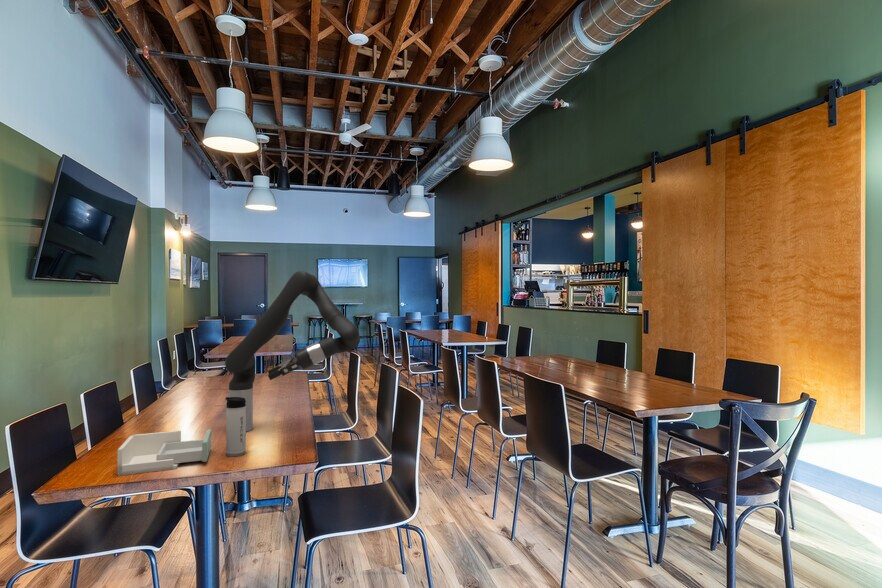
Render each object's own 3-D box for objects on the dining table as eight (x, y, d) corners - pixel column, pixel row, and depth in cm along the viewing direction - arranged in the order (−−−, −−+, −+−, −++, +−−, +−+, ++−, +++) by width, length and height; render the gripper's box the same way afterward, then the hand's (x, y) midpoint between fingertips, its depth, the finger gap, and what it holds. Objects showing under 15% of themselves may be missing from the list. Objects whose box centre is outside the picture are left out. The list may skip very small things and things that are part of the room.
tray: (211, 446, 169) (211, 428, 169) (206, 461, 153) (206, 442, 153) (164, 451, 163) (164, 433, 163) (155, 467, 148) (155, 447, 148)
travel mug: (225, 452, 166) (226, 396, 166) (246, 450, 168) (246, 394, 168) (224, 458, 160) (224, 399, 160) (245, 455, 162) (245, 398, 162)
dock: (183, 452, 166) (184, 430, 166) (176, 468, 150) (176, 443, 150) (130, 458, 160) (131, 435, 160) (117, 475, 144) (117, 449, 144)
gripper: (304, 345, 183) (264, 363, 177) (307, 348, 169) (264, 369, 164) (312, 362, 184) (272, 381, 179) (316, 367, 170) (273, 388, 165)
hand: (268, 375), depth 171 cm, fingers open, 8 cm apart
